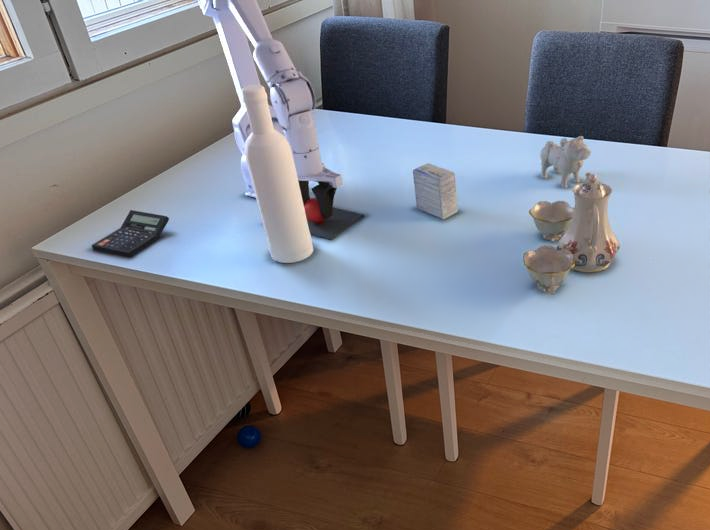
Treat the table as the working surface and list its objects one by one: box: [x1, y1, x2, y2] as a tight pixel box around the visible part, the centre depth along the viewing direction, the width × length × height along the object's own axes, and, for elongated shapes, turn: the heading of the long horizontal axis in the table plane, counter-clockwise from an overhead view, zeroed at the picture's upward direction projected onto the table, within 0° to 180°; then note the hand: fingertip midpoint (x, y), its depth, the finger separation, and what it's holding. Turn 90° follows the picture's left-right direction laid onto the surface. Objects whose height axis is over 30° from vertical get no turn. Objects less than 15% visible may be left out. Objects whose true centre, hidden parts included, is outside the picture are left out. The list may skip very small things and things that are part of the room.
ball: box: [304, 197, 326, 223], centre depth 132 cm, size 5×5×5 cm
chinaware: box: [523, 172, 621, 296], centre depth 114 cm, size 28×17×17 cm, turn 178°
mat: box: [307, 206, 365, 241], centre depth 135 cm, size 16×11×1 cm
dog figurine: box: [539, 135, 592, 189], centre depth 142 cm, size 5×13×11 cm, turn 38°
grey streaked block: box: [412, 162, 459, 220], centre depth 133 cm, size 8×4×9 cm, turn 47°
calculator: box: [91, 209, 170, 258], centre depth 131 cm, size 9×12×3 cm
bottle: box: [242, 84, 314, 264], centre depth 115 cm, size 8×8×30 cm
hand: (317, 214), depth 132 cm, fingers closed on ball, 5 cm apart
